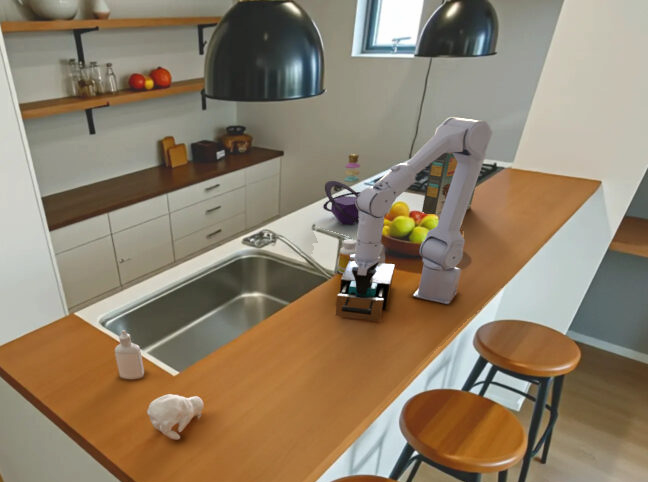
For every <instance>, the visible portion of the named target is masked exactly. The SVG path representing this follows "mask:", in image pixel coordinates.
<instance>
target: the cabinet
mask: <svg viewBox="0 0 648 482" xmlns="http://www.w3.org/2000/svg"><path fill="white" fill-rule="evenodd" d="M353 267H357V264H356V263H355V261H349V263H348V265H347V267H346V270H345V272H344V274H342V276H341V278H340V287H339V294H341V292H342V290H343V288H344V285H345V283H346V282H349V283H351V281H355V277H354V275H353V273H352V268H353ZM395 267H396V264H392V263H384V264H381V263H379V264H378V265H377V267H376V268H375V270H376V273H375V274H374V276H373V281H372V283H377V285H379V286H385V291H384V298H383V299H384V300H383V306H382V311H386V310H387V306H388V304H389V303H388V302H389V299H390V295H391V294H390V293H391V291H392V284H393V278H394V272H395Z"/></svg>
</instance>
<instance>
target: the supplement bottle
mask: <svg viewBox="0 0 648 482" xmlns="http://www.w3.org/2000/svg"><path fill="white" fill-rule="evenodd" d="M356 243H357V240H355V239H351V238H348V239H344V240H342V247H341V248H340V249H339V254H338V255H339V256H338V266H337V268H338V269H337V272H338V273H340V274H342V275H343V274H344V272H345V270H346V267H347V265H348V263H349V261H354V260H352V259H350V255H351V254H355V252H356Z"/></svg>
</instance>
